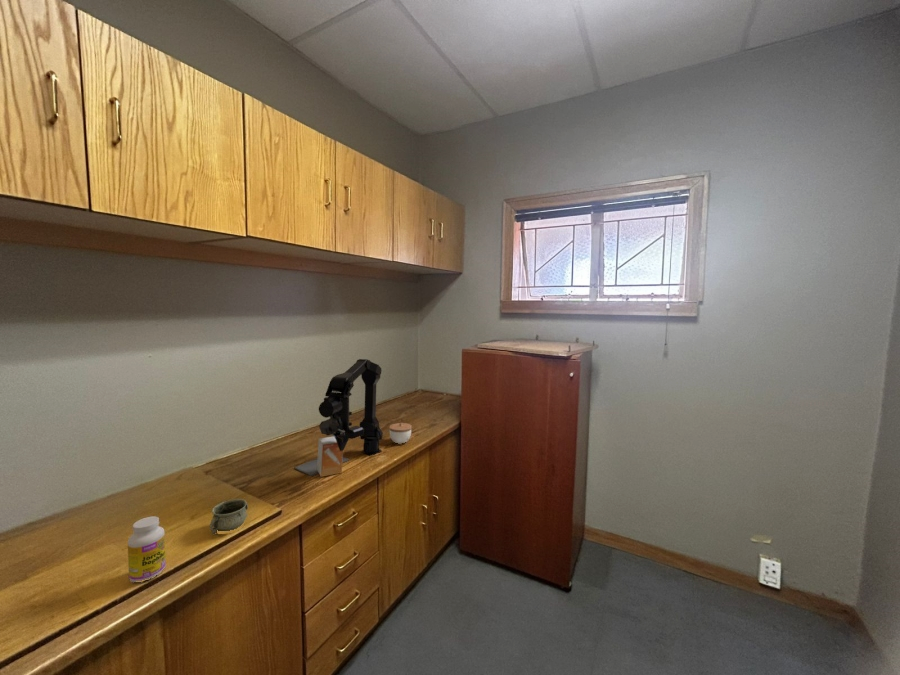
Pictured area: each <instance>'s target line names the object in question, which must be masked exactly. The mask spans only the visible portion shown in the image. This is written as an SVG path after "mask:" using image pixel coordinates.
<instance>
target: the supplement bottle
mask: <svg viewBox="0 0 900 675" xmlns="http://www.w3.org/2000/svg"><path fill="white" fill-rule="evenodd" d="M159 524H160V518H159V517H158V516H147V517H144V518H141V519H138V520H137V521H136V522H134V523H133V524H132V531H133V533H132V534H131V535H130V536H129V538H128V540H127V559H128V560H127V561H128V578H129V579H130V580H129V581H130V582H131V581H132V582H131V583H134V582H136V581H142V580H145V579H149V578H152V577H154V576H156V575H158V574H159V573H160V572H161V571H162V570H163V569H164V568H166V539H165V536H166V535H165V529H164V528H163V527H162V526H160V525H159ZM164 570H165V569H164ZM164 570H163V571H164ZM159 575H160V574H159ZM159 575H158V576H159Z"/></svg>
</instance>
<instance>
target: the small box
mask: <svg viewBox="0 0 900 675" xmlns="http://www.w3.org/2000/svg"><path fill="white" fill-rule="evenodd" d="M343 457H344V450H343V451H340V450H339V447H338V444H337V441H336V439H335V437H334V436H333V435H332V436H328V437H326V436H325V437H321V438H318V445H317V458H318V460H317V470H318V472H319V473H318V474H319V477H328V476H332V475H337V474H342V472H343V463H342V461H343Z"/></svg>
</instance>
